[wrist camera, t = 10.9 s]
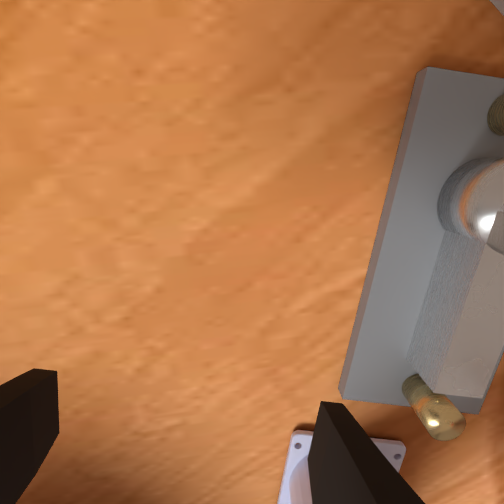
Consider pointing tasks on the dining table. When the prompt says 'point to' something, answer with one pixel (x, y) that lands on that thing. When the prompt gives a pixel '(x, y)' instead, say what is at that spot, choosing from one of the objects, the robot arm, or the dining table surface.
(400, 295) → the board
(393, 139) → the dining table surface
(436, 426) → the peg pair
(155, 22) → the dining table surface
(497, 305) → the ball topped lever
